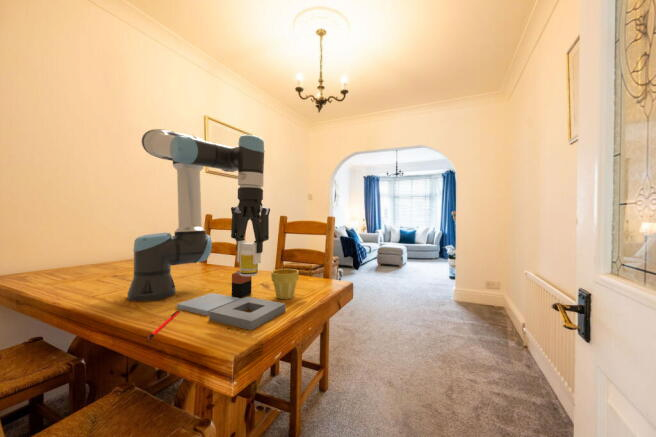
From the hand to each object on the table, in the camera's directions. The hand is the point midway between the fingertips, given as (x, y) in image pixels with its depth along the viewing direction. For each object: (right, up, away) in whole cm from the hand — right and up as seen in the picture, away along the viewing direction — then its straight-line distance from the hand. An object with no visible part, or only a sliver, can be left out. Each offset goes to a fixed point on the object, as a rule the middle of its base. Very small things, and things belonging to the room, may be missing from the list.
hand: (248, 262), depth 82 cm
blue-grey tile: (-16, -16, +8) cm, 24 cm away
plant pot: (+8, -17, +19) cm, 27 cm away
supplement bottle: (0, -4, 0) cm, 4 cm away
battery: (-9, -16, +19) cm, 27 cm away
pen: (-21, -17, -7) cm, 28 cm away
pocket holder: (0, -16, 0) cm, 16 cm away
